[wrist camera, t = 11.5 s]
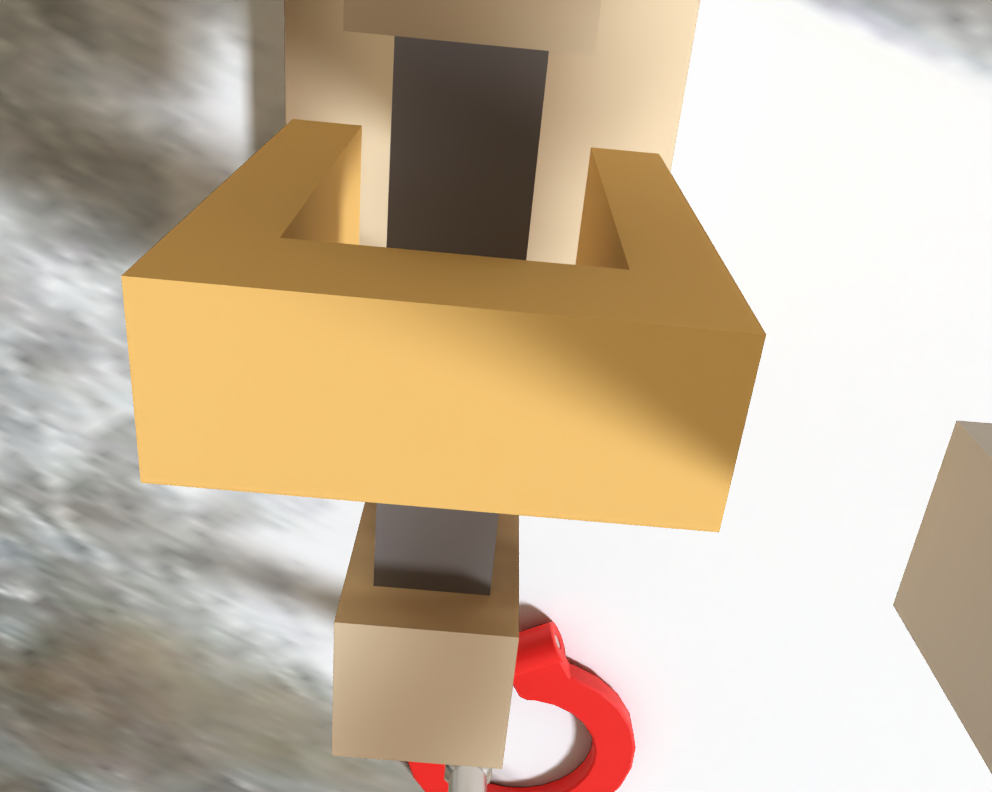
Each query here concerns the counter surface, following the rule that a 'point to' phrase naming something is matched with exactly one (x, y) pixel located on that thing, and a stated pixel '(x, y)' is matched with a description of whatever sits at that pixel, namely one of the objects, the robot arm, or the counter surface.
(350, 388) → the yellow u-shaped bracket
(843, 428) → the counter surface
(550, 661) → the tow hook
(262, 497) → the counter surface
